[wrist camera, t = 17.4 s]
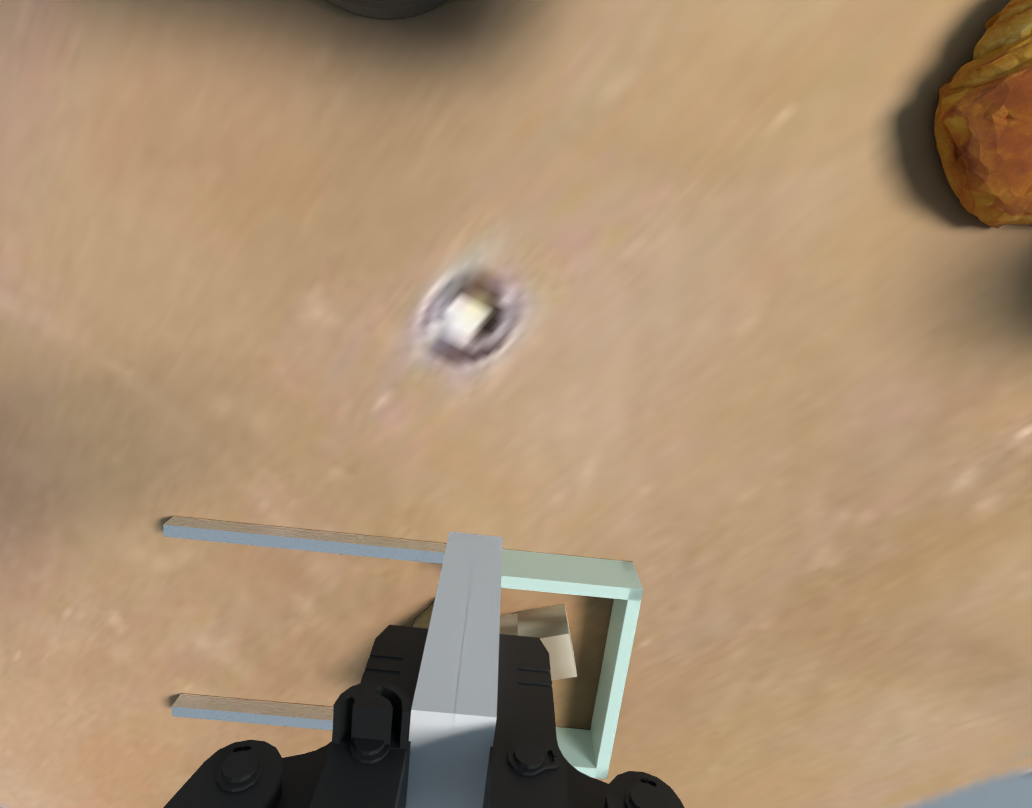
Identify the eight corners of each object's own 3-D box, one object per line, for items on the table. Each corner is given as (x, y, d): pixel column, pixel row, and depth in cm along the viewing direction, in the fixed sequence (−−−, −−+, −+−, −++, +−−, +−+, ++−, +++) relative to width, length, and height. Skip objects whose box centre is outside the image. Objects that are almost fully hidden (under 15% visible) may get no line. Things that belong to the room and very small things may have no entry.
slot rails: (181, 702, 52) (172, 716, 51) (173, 516, 47) (163, 524, 46) (455, 727, 53) (453, 740, 51) (474, 545, 48) (473, 555, 47)
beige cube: (526, 651, 51) (527, 684, 47) (517, 611, 50) (517, 642, 46) (572, 643, 51) (577, 676, 47) (564, 603, 50) (568, 633, 46)
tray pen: (455, 727, 53) (450, 765, 49) (474, 546, 48) (471, 572, 44) (599, 740, 53) (606, 779, 50) (632, 561, 49) (643, 589, 45)
